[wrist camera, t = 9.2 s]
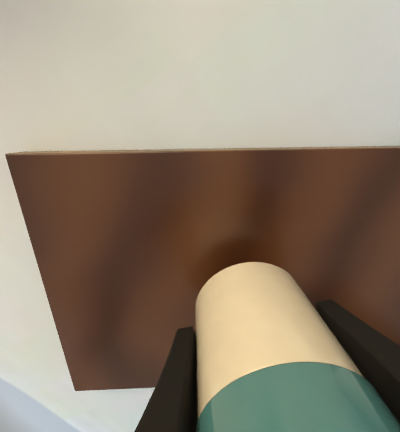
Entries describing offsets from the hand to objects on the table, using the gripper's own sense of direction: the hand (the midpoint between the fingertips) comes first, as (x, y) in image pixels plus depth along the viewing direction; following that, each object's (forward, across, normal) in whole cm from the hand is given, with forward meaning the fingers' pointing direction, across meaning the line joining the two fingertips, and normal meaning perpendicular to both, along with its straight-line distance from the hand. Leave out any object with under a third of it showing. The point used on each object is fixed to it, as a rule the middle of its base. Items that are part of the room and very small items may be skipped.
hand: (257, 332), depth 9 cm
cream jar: (+1, 0, 0) cm, 1 cm away
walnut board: (+4, 0, 0) cm, 4 cm away
